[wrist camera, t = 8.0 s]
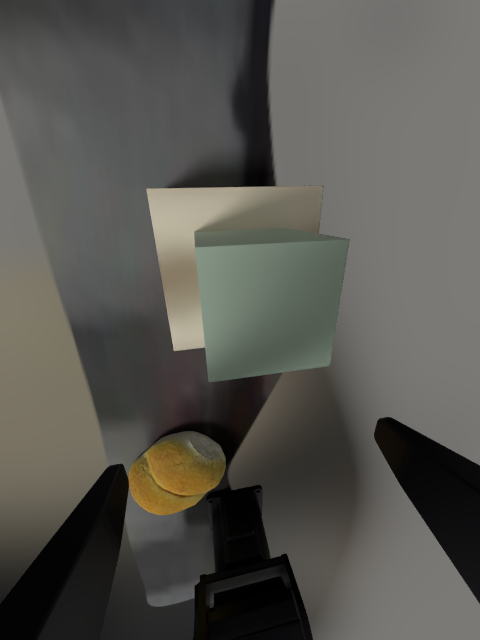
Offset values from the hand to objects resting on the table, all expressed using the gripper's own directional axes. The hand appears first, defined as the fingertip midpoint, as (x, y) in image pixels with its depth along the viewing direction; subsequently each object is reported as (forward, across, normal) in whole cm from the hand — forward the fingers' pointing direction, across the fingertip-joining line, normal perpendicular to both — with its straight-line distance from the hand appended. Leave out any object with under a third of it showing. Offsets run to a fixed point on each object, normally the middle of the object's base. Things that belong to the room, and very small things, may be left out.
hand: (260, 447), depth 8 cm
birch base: (+11, -1, -4) cm, 12 cm away
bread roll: (+12, +5, +15) cm, 20 cm away
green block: (+8, -1, -4) cm, 9 cm away
